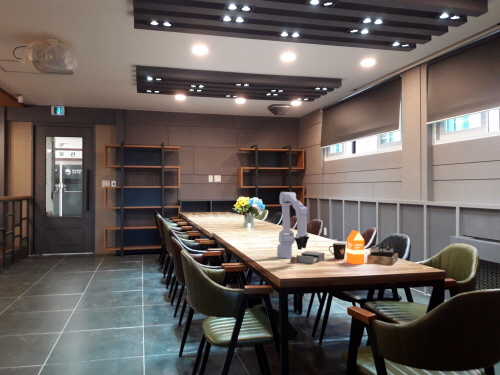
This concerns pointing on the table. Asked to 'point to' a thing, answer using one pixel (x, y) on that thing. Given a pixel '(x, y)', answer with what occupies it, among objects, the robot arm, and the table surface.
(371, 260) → the frame
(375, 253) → the camera
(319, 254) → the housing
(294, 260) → the walnut block
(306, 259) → the grey drawer
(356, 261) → the orange juice
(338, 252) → the coffee mug
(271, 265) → the table surface
